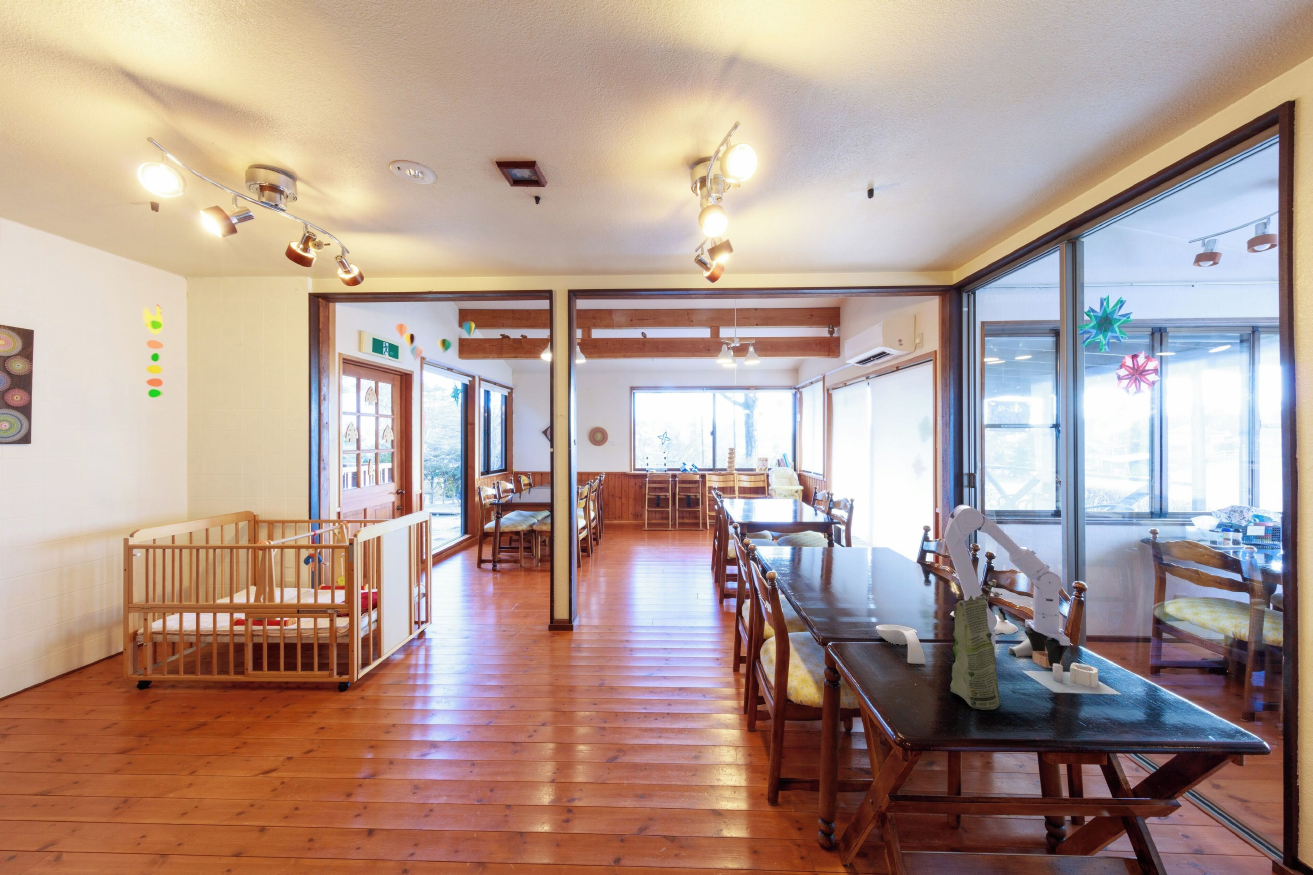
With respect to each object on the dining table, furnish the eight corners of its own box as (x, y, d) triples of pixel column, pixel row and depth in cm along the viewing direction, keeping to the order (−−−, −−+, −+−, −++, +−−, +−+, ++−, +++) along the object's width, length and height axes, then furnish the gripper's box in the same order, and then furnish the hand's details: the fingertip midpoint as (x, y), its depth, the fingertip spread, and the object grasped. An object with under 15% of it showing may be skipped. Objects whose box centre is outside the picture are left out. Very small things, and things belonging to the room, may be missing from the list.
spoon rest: (871, 633, 166) (871, 611, 166) (908, 635, 165) (908, 613, 165) (896, 663, 143) (896, 638, 143) (940, 666, 141) (940, 640, 141)
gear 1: (1043, 671, 138) (1043, 658, 138) (1030, 663, 143) (1030, 650, 143) (1063, 671, 138) (1063, 658, 138) (1049, 663, 143) (1049, 651, 143)
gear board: (1054, 696, 124) (1054, 675, 124) (1021, 674, 136) (1021, 655, 136) (1122, 698, 123) (1122, 677, 123) (1083, 676, 135) (1083, 657, 135)
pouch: (956, 709, 117) (956, 601, 118) (940, 685, 129) (940, 587, 130) (1010, 715, 115) (1009, 605, 115) (989, 690, 126) (988, 590, 127)
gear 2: (1095, 688, 126) (1095, 674, 126) (1069, 681, 130) (1069, 667, 130) (1098, 681, 130) (1098, 668, 130) (1073, 675, 133) (1072, 661, 134)
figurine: (938, 616, 180) (943, 571, 179) (971, 610, 188) (975, 567, 187) (996, 641, 162) (1001, 592, 161) (1029, 633, 170) (1034, 586, 169)
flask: (1055, 643, 143) (1023, 651, 142) (1052, 663, 145) (1021, 672, 144) (1032, 627, 150) (1002, 634, 149) (1030, 646, 152) (1001, 654, 151)
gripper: (1081, 621, 133) (1082, 673, 133) (1042, 604, 148) (1042, 651, 147) (1053, 621, 134) (1054, 672, 133) (1017, 604, 148) (1017, 650, 148)
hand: (1046, 661), depth 140 cm, fingers closed on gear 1, 5 cm apart
